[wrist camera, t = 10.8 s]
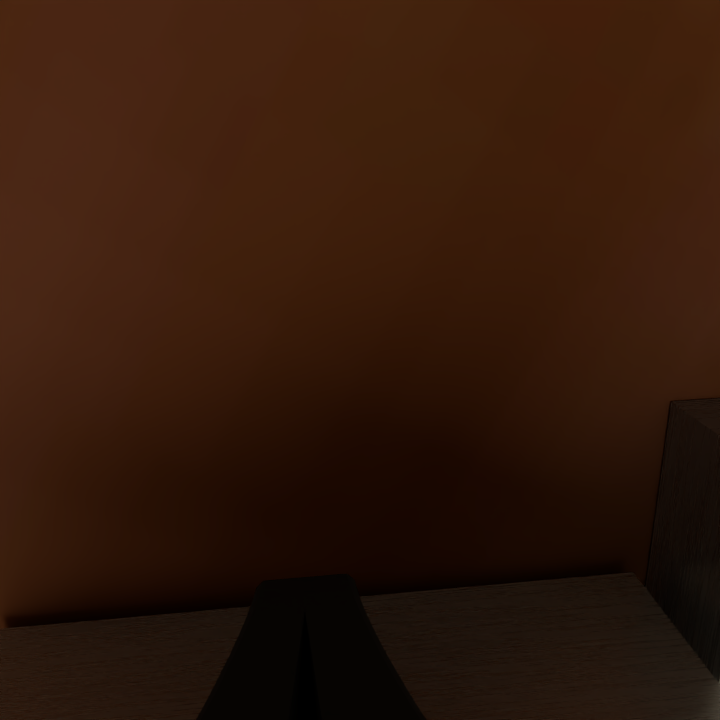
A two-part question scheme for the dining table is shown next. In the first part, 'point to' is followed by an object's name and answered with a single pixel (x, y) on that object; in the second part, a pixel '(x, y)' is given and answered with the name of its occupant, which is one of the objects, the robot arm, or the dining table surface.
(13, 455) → the dining table surface
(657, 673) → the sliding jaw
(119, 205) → the dining table surface
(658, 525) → the vise body
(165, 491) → the dining table surface
